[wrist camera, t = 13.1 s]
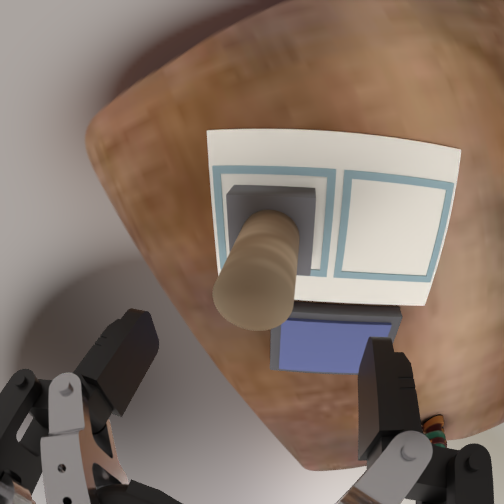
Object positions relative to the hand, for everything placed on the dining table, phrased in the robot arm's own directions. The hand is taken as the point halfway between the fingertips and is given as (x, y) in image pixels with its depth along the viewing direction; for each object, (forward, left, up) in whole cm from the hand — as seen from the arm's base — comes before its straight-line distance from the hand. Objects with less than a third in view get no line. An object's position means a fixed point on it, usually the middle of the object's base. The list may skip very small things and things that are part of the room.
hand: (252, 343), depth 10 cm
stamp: (0, 0, -10) cm, 10 cm away
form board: (-4, 0, -11) cm, 11 cm away
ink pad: (-5, +10, -11) cm, 15 cm away
